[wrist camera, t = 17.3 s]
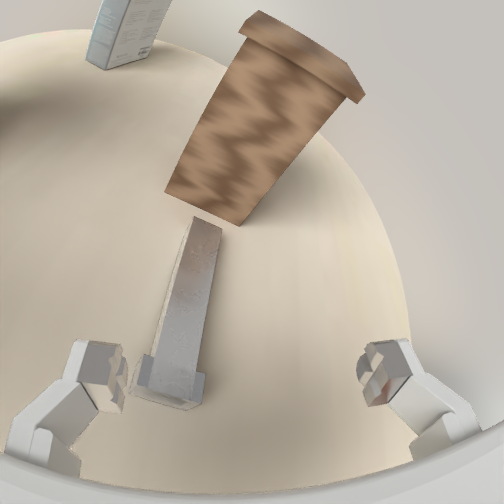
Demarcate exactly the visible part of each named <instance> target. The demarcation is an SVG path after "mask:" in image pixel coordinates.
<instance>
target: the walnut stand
mask: <svg viewBox="0 0 504 504" xmlns="http://www.w3.org/2000/svg"><path fill="white" fill-rule="evenodd" d="M239 33H241V34H243V35H245V36H247V39H246V40H245V42H244V43H243V45H242V47H241V48H240V50H239V52H238V53H237V55H236V56H235V58H234V60H233V61H232V63H231V65H230V66H229V68H228V70H227V71H226V73H225V75H224V76H223V78H222V80H221V82H220V83H219V85H218V87H217V89H216V90H215V92H214V94H213V96H212V98H211V99H210V101H209V103H208V105H207V107H206V108H205V110H204V112H203V114H202V116H201V118H200V120H199V122H198V124H197V125H196V127H195V129H194V131H193V133H192V135H191V137H190V139H189V141H188V143H187V145H186V147H185V149H184V151H183V153H182V155H181V157H180V159H179V161H178V164H177V166H176V168H175V170H174V172H173V174H172V176H171V178H170V181H169V183H168V185H167V187H166V189H165V192H166V193H168V194H170V195H172V196H174V197H176V198H179V199H181V200H183V201H185V202H187V203H190V204H192V205H194V206H196V207H198V208H200V209H203V210H205V211H207V212H209V213H211V214H213V215H216V216H218V217H220V218H222V219H224V220H226V221H228V222H231V223H233V224H235V225H237V226H240V225H241V224H242V223H243V221H244V220H245V219H246V218H247V216H248V215H249V214H250V213H251V211H252V210H253V209H254V208H255V206H256V205H257V204H258V203H259V201H260V200H261V199H262V198H263V197H264V195H265V194H266V193H267V192H268V190H269V189H270V188H271V187H272V186H273V184H274V183H275V182H276V181H277V179H278V178H279V177H280V176H281V175H282V173H283V172H284V171H285V170H286V169H287V167H288V166H289V165H290V164H291V162H292V161H293V160H294V159H295V158H296V156H297V155H298V154H299V153H300V152H301V150H302V149H303V148H304V147H305V146H306V144H307V143H308V142H309V141H310V140H311V139H312V137H313V136H314V135H315V134H316V133H317V131H318V130H319V129H320V128H321V127H322V125H323V124H324V123H325V122H326V121H327V119H328V118H329V117H330V116H331V115H332V114H333V113H334V111H335V110H336V109H337V108H338V107H339V106H340V104H341V103H342V102H343V101H344V100H345V98H346V97H348V98H349V99H350V100H352V101H353V102H355V103H356V104H358V102H359V101H360V100H361V99H362V98H363V97H364V96H365V93H364V91H363V89H362V87H361V86H360V84H359V82H358V81H357V79H356V77H355V76H354V74H353V72H352V71H351V69H350V68H349V66H348V65H347V63H346V62H344V61H343V60H342V59H340V58H338V57H337V56H335V55H334V54H333V53H331V52H330V51H328V50H327V49H325V48H324V47H322V46H321V45H319V44H318V43H316V42H314V41H313V40H311V39H310V38H308V37H306V36H305V35H303V34H301V33H300V32H298V31H296V30H294V29H293V28H291V27H289V26H288V25H286V24H284V23H282V22H280V21H279V20H277V19H275V18H273V17H271V16H269V15H267V14H265V13H264V12H262V11H260V10H258V11H257V12H256V13H254V14H253V15H252V16H251V17H249V18H248V19H247V20H246V21H245V23H244V24H243V26H242V27H241V29H240V30H239Z"/></svg>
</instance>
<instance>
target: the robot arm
mask: <svg viewBox="0 0 504 504" xmlns="http://www.w3.org/2000/svg"><path fill="white" fill-rule="evenodd" d="M122 352H123V350H122V347H121V344H115V343H106V342H99V341H91V340H84V339H76V341H75V342H74V343H73V346H72V349H71V352H70V355H69V358H68V361H67V364H66V367H65V370H64V373H63V376H62V379H57V380H56V381H55V382H53V383H52V384H51V385H50V386H49V387H48V388H47V389H46V390H44V391H43V392H42V393H41V394H40V395H39V396H38V397H37V398H35V399H34V400H33V401H32V402H31V403H30V404H29V405H28V406H26V407H25V408H24V409H23V410H22V411H21V412H20V413H19V414H18V415H16V416H15V417H14V418H13V421H12V425H11V428H10V432H9V435H8V439H7V443H6V447H5V451H4V453H2V452H0V504H504V420H503V421H501V422H499V423H497V424H496V425H494V426H492V427H490V428H488V429H486V430H484V431H482V429H481V427H480V425H479V422H478V420H477V418H476V416H475V413H474V411H473V409H472V407H471V405H470V404H469V403H468V402H467V401H465V400H464V399H463V398H461V397H460V396H459V395H457V394H456V393H455V392H453V391H452V390H451V389H449V388H448V387H447V386H445V385H444V384H443V383H441V382H440V381H439V380H437V379H436V378H435V377H434V376H432V375H431V374H429V373H428V372H427V373H425V372H424V370H423V368H422V366H421V364H420V362H419V360H418V358H417V356H416V354H415V352H414V350H413V348H412V346H411V344H410V342H409V341H408V340H407V339H397V340H386V341H378V342H370V343H369V344H367V346H366V347H365V352H366V353H365V354H364V355H362V356H361V357H360V358H359V360H358V362H357V369H356V371H357V377H358V380H359V382H360V383H361V384H363V385H364V386H365V387H364V389H363V394H364V397H365V400H366V403H367V406H368V407H370V406H376V405H382V404H387V405H388V406H389V407H390V408H391V409H392V410H393V411H394V412H395V413H396V414H397V415H398V416H399V417H400V418H401V419H402V420H403V421H404V422H405V423H406V424H407V425H408V426H409V427H410V428H411V429H412V430H413V431H414V432H415V433H416V434H417V435H418V436H419V437H417V438H416V439H415V440H414V441H413V442H411V443H410V445H409V448H410V451H411V454H412V457H413V460H414V461H411V462H408V463H405V464H402V465H399V466H396V467H393V468H389V469H386V470H383V471H379V472H375V473H372V474H368V475H364V476H360V477H356V478H352V479H347V480H343V481H338V482H333V483H328V484H322V485H316V486H310V487H303V488H296V489H288V490H279V491H269V492H256V493H236V494H196V493H176V492H163V491H153V490H144V489H136V488H129V487H123V486H117V485H111V484H106V483H101V482H96V481H91V480H87V479H82V478H79V476H80V467H81V460H80V458H79V457H78V456H77V455H76V454H74V453H73V452H72V451H71V450H70V449H69V448H70V446H71V445H72V444H73V443H74V442H75V440H76V439H77V438H78V437H79V435H80V434H81V433H82V432H83V431H84V429H85V428H86V427H87V426H88V425H89V423H90V422H91V421H92V420H93V419H94V417H95V416H96V415H97V414H98V411H102V412H110V413H119V414H122V410H123V404H124V398H125V396H124V394H123V392H122V389H123V388H124V387H125V386H127V380H128V366H127V362H126V359H125V358H124V357H123V356H122Z"/></svg>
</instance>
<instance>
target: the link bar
mask: <svg viewBox="0 0 504 504" xmlns="http://www.w3.org/2000/svg"><path fill="white" fill-rule="evenodd" d="M221 234H222V229H221V228H219V227H217V226H215V225H213V224H210V223H208V222H206V221H204V220H202V219H199V218H197V217H195V216H194V217H193V219H192V221H191V223H190V224H189V226H188V228H187V230H186V232H185V235H184V238H183V241H182V244H181V247H180V251H179V254H178V257H177V260H176V264H175V267H174V270H173V274H172V277H171V280H170V284H169V287H168V291H167V294H166V298H165V301H164V305H163V308H162V312H161V316H160V319H159V323H158V327H157V331H156V335H155V338H154V342H153V346H152V350H151V354H150V356H149V355H146V354H144V355H143V356H142V358H141V359H140V361H139V362H138V364H137V365H136V367H135V370H134V374H133V378H132V382H131V386H130V391H129V394H131V395H134V396H137V397H141V398H144V399H147V400H150V401H153V402H157V403H160V404H163V405H167V406H171V407H174V408H178V409H182V410H185V411H186V410H188V409H191V408H193V407H195V406H197V405H200V404H201V403H202V397H203V390H204V383H205V376H206V374H205V373H201V372H198V371H196V367H197V361H198V356H199V350H200V344H201V338H202V333H203V327H204V322H205V316H206V311H207V305H208V300H209V295H210V290H211V284H212V279H213V274H214V269H215V264H216V259H217V254H218V249H219V244H220V239H221Z"/></svg>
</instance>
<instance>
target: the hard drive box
mask: <svg viewBox="0 0 504 504" xmlns="http://www.w3.org/2000/svg"><path fill="white" fill-rule="evenodd" d="M171 1H172V0H103V1H102V3H101V6H100V9H99V12H98V15H97V18H96V21H95V24H94V27H93V30H92V34H91V37H90V40H89V44H88V48H87V51H86V55H85V60H87V61H89V62H91V63H92V64H94V65H96V66H98V67H100V68H101V69H103V70H107V69H110V68H114V67H117V66H119V65H122V64H125V63H129V62H132V61H136V60H140V59H142V58H146V57H148V54H149V52H150V49H151V47H152V44H153V42H154V39H155V37H156V35H157V32H158V30H159V28H160V25H161V23H162V21H163V19H164V16H165V14H166V12H167V10H168V8H169V6H170V4H171Z"/></svg>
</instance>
